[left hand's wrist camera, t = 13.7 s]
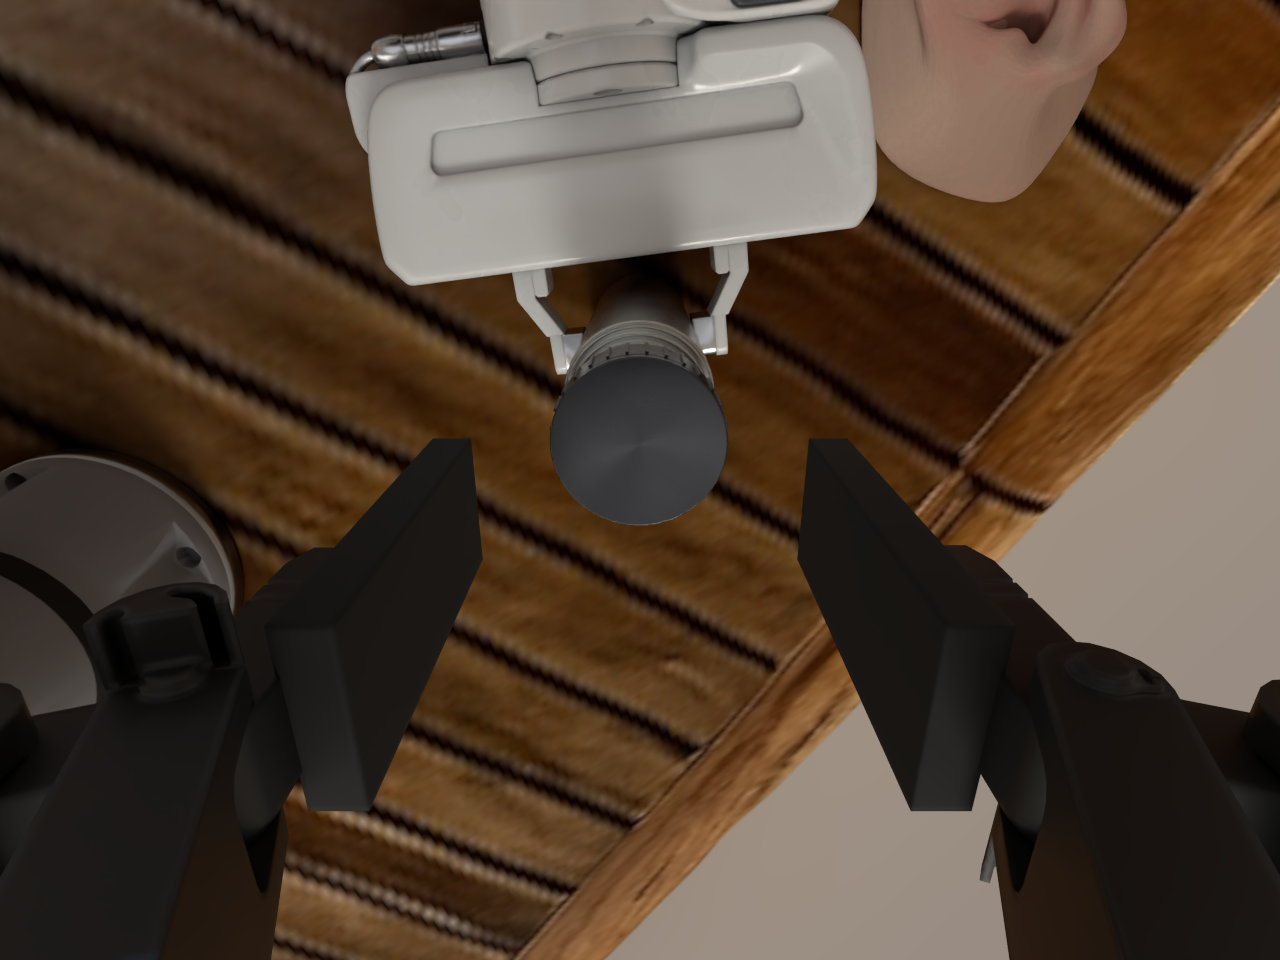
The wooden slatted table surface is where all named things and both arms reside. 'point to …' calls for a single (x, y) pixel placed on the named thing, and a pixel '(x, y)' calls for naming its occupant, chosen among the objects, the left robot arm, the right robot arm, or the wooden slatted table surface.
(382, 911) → the wooden slatted table surface
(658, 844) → the wooden slatted table surface
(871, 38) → the anatomical model
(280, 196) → the wooden slatted table surface
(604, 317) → the bottle
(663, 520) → the cap
